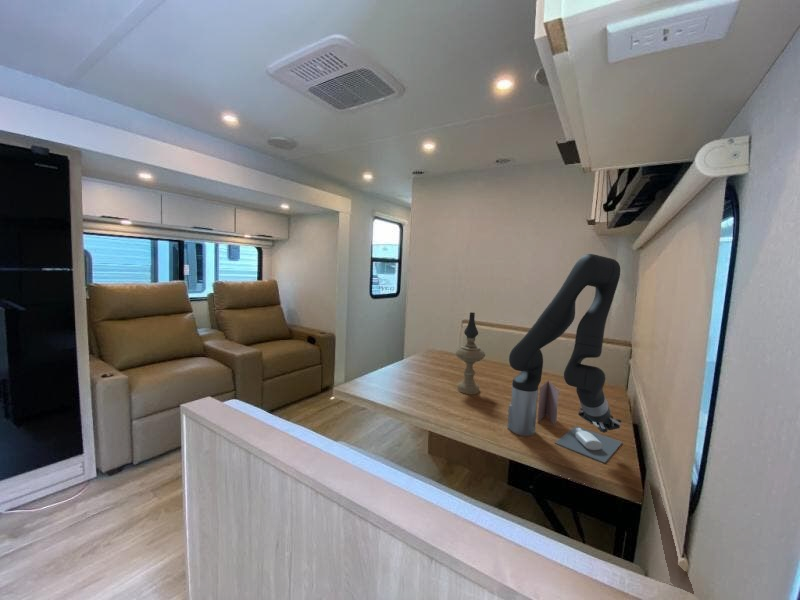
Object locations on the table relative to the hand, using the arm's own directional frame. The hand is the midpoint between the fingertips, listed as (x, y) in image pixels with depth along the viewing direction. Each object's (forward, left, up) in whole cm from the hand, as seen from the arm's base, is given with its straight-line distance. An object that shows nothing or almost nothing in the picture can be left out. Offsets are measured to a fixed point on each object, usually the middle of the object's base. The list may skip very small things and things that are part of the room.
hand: (603, 429), depth 115 cm
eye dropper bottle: (-1, -4, -5) cm, 6 cm away
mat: (-5, +1, -7) cm, 9 cm away
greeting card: (-22, +8, -8) cm, 25 cm away
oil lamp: (-64, +10, -8) cm, 65 cm away
